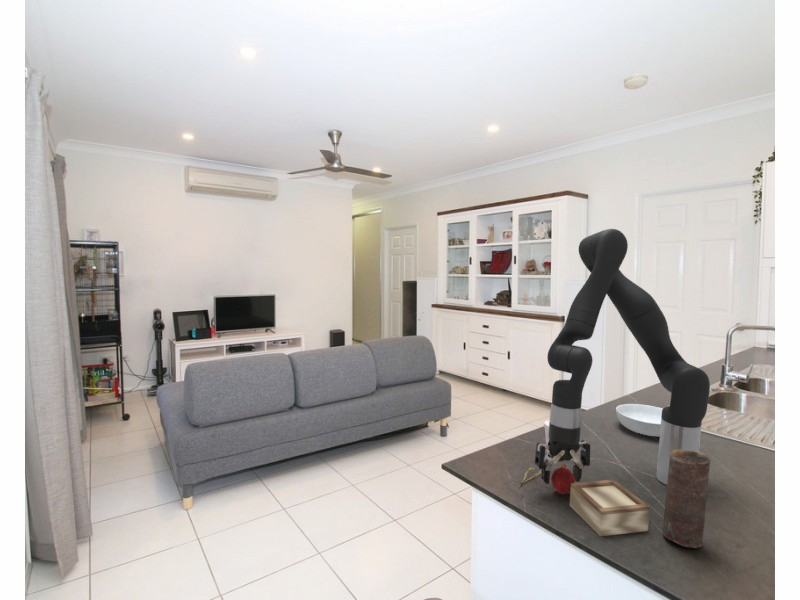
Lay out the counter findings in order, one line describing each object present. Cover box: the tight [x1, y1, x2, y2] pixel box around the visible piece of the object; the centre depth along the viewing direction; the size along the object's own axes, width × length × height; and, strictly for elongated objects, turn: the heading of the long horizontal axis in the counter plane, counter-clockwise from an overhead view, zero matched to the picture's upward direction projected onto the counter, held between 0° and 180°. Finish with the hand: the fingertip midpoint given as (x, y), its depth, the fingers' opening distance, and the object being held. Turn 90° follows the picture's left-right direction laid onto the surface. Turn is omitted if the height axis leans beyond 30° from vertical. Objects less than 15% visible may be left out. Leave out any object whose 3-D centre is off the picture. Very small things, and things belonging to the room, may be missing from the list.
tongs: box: [517, 467, 541, 489], centre depth 120 cm, size 4×13×2 cm, turn 145°
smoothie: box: [543, 419, 550, 454], centre depth 135 cm, size 6×6×14 cm
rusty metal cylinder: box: [662, 449, 711, 549], centre depth 93 cm, size 8×7×20 cm
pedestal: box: [569, 479, 651, 537], centre depth 102 cm, size 12×12×6 cm
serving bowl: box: [615, 403, 664, 438], centre depth 154 cm, size 21×21×7 cm
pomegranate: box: [550, 464, 576, 495], centre depth 112 cm, size 6×6×8 cm
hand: (560, 481), depth 113 cm, fingers open, 8 cm apart
